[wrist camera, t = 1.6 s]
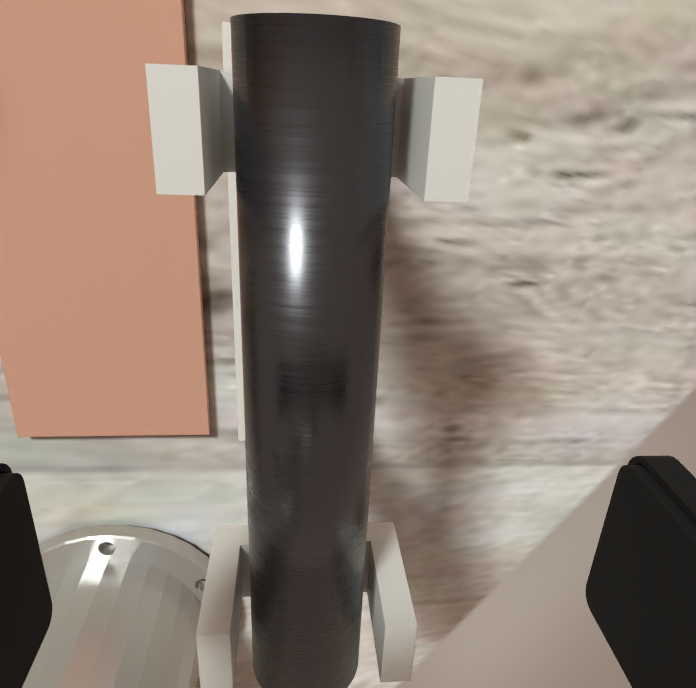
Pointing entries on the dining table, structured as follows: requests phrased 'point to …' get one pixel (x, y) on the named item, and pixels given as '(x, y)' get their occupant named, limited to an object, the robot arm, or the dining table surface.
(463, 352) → the dining table surface
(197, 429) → the mat
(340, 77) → the cylinder
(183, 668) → the robot arm
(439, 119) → the stand
